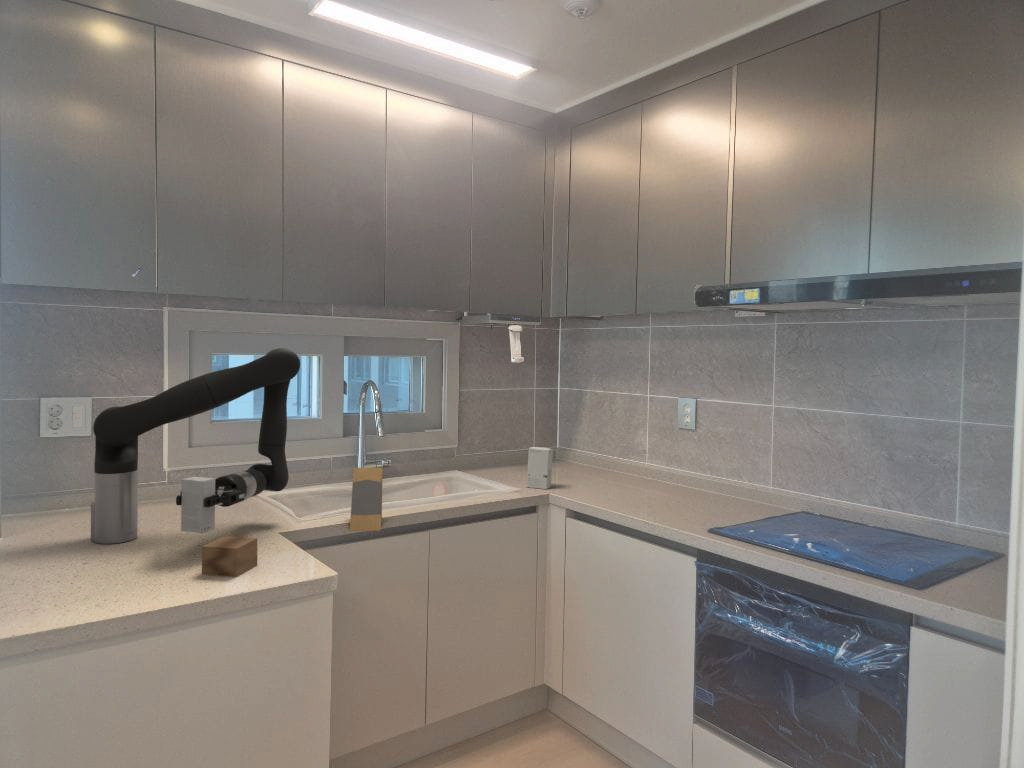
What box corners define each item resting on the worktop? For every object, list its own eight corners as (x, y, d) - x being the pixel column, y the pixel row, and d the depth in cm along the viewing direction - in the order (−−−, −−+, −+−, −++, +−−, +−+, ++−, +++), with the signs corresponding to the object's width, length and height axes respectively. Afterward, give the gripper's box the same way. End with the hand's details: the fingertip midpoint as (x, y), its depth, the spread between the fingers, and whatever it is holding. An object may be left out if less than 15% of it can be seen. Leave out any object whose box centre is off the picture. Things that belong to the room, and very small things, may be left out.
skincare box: (215, 529, 149) (216, 478, 148) (201, 534, 144) (203, 481, 144) (193, 526, 150) (194, 476, 150) (179, 531, 146) (180, 479, 146)
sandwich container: (348, 532, 172) (348, 476, 172) (352, 518, 187) (352, 467, 187) (381, 531, 174) (381, 476, 173) (382, 517, 189) (382, 467, 188)
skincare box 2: (526, 487, 238) (527, 447, 238) (531, 485, 244) (532, 446, 243) (547, 489, 235) (548, 449, 235) (552, 486, 241) (553, 447, 241)
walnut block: (201, 574, 136) (201, 546, 135) (224, 562, 144) (224, 536, 143) (236, 576, 134) (236, 548, 134) (257, 565, 142) (257, 538, 142)
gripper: (208, 471, 162) (163, 483, 146) (261, 475, 160) (221, 487, 144) (207, 501, 162) (162, 516, 146) (260, 505, 160) (220, 520, 144)
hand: (191, 501), depth 145 cm, fingers closed on skincare box, 6 cm apart
